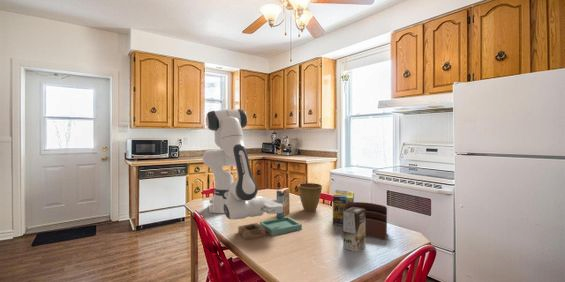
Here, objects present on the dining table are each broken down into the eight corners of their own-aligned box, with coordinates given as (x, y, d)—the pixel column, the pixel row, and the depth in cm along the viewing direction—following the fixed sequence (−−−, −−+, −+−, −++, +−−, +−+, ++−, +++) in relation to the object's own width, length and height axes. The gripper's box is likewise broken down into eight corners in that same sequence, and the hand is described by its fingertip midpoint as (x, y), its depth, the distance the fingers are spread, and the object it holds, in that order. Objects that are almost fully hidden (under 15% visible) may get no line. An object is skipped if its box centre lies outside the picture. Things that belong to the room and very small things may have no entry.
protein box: (332, 225, 138) (332, 196, 137) (335, 216, 153) (335, 190, 152) (352, 227, 135) (353, 197, 134) (353, 218, 150) (354, 191, 149)
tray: (259, 226, 136) (259, 221, 136) (287, 221, 144) (287, 216, 144) (272, 235, 124) (272, 230, 124) (301, 229, 132) (301, 224, 132)
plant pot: (295, 212, 159) (295, 186, 159) (301, 206, 174) (301, 182, 173) (320, 215, 155) (320, 188, 154) (323, 208, 169) (323, 183, 169)
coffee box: (357, 252, 107) (357, 213, 106) (342, 248, 111) (342, 210, 110) (365, 245, 114) (365, 208, 113) (351, 241, 118) (352, 206, 117)
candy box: (282, 217, 151) (282, 191, 150) (276, 216, 153) (276, 190, 152) (289, 213, 159) (289, 188, 158) (283, 212, 161) (283, 187, 160)
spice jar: (275, 218, 135) (275, 191, 134) (281, 216, 137) (281, 190, 136) (278, 220, 131) (278, 192, 131) (285, 219, 133) (285, 191, 133)
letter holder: (346, 226, 136) (346, 200, 135) (386, 232, 128) (387, 204, 128) (342, 233, 127) (342, 205, 126) (386, 240, 119) (386, 209, 118)
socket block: (238, 232, 128) (238, 226, 128) (256, 228, 133) (256, 222, 133) (245, 239, 119) (245, 233, 119) (265, 235, 124) (265, 229, 124)
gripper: (266, 205, 118) (292, 201, 125) (249, 196, 136) (272, 193, 143) (266, 219, 118) (292, 214, 125) (249, 208, 136) (272, 204, 143)
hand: (281, 202), depth 134 cm, fingers closed on spice jar, 4 cm apart
